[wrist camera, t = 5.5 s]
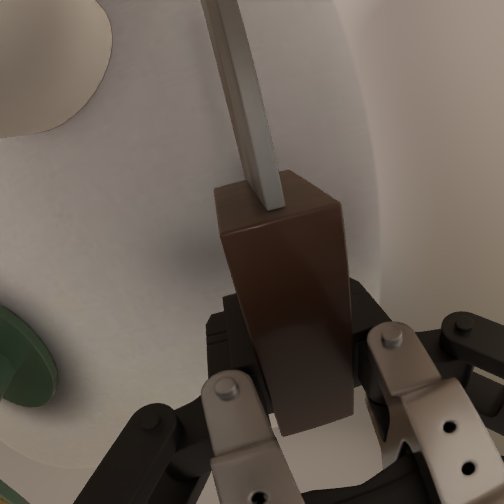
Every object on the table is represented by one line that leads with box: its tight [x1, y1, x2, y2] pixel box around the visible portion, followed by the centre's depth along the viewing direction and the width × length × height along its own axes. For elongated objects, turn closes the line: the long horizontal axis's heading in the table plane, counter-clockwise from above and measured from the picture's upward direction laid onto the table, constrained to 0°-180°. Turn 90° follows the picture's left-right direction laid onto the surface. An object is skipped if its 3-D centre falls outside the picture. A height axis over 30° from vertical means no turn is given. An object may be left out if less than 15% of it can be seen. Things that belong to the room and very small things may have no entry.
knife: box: [201, 0, 354, 437], centre depth 7 cm, size 15×2×4 cm, turn 13°
